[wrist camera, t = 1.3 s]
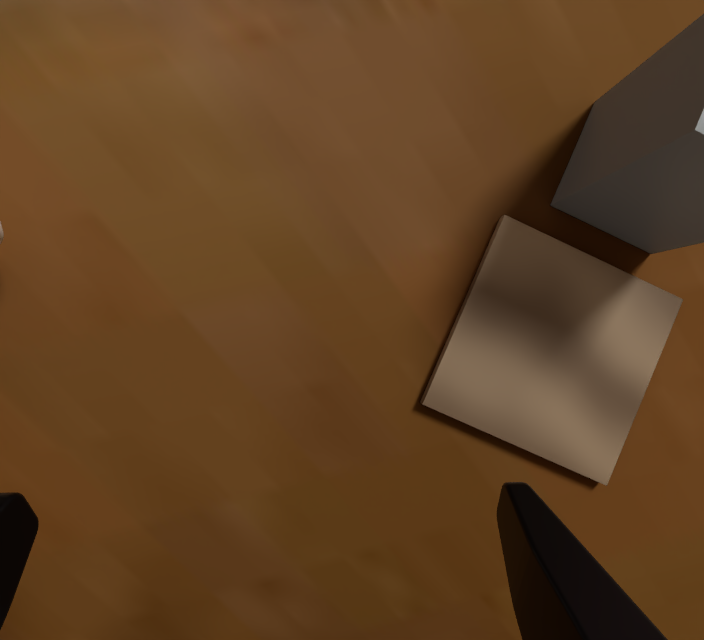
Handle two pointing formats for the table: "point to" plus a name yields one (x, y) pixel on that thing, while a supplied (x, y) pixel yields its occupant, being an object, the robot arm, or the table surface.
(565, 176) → the sharp-edged grey box
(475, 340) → the light tan board
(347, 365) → the table surface
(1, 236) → the teacup with lid
